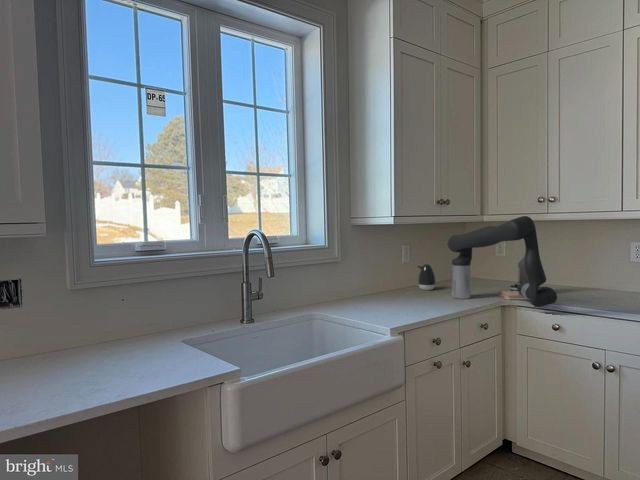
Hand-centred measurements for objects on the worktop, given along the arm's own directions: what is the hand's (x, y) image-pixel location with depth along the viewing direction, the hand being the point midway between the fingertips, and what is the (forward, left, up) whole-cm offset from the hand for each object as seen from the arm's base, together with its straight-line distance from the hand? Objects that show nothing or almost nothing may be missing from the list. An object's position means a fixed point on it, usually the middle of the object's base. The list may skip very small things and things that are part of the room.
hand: (517, 285), depth 221 cm
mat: (0, +5, -7) cm, 9 cm away
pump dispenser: (-42, +30, -7) cm, 52 cm away
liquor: (+11, +18, -7) cm, 22 cm away
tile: (0, -2, -6) cm, 6 cm away
